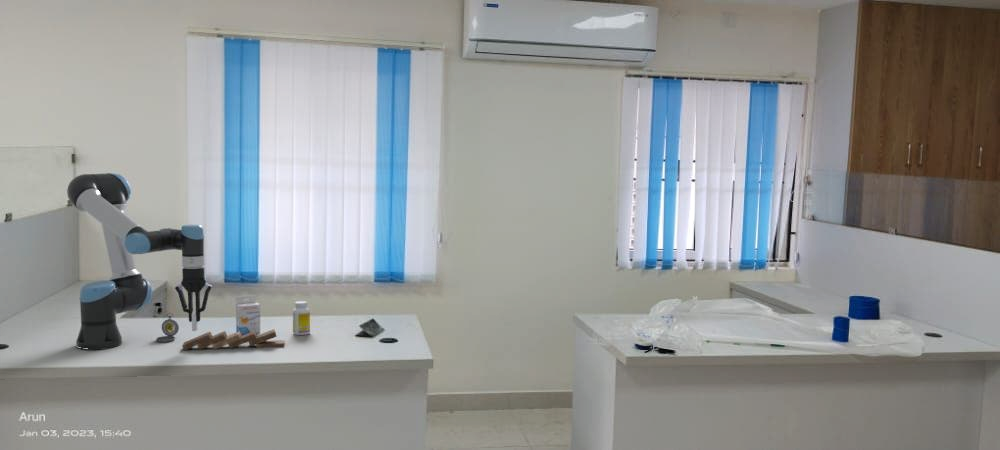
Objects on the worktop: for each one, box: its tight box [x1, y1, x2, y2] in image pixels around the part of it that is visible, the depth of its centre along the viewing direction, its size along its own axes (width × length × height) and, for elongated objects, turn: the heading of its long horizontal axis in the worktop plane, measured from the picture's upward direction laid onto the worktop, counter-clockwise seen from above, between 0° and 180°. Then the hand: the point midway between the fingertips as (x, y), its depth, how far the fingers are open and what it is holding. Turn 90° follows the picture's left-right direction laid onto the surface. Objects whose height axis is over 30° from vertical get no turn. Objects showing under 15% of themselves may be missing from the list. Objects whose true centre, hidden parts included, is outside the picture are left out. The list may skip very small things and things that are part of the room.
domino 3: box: [227, 331, 258, 350], centre depth 296 cm, size 2×5×10 cm
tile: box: [211, 331, 243, 350], centre depth 294 cm, size 2×5×10 cm
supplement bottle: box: [292, 300, 311, 336], centre depth 317 cm, size 7×7×13 cm
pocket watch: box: [155, 312, 180, 343], centre depth 304 cm, size 8×8×10 cm
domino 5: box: [255, 339, 286, 349], centre depth 298 cm, size 2×5×10 cm
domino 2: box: [196, 330, 228, 351], centre depth 293 cm, size 2×5×10 cm
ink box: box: [235, 294, 261, 335], centre depth 317 cm, size 8×5×15 cm, turn 123°
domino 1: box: [181, 331, 213, 351], centre depth 292 cm, size 2×5×10 cm
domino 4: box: [248, 328, 277, 348], centre depth 297 cm, size 2×5×10 cm
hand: (194, 330), depth 291 cm, fingers closed
